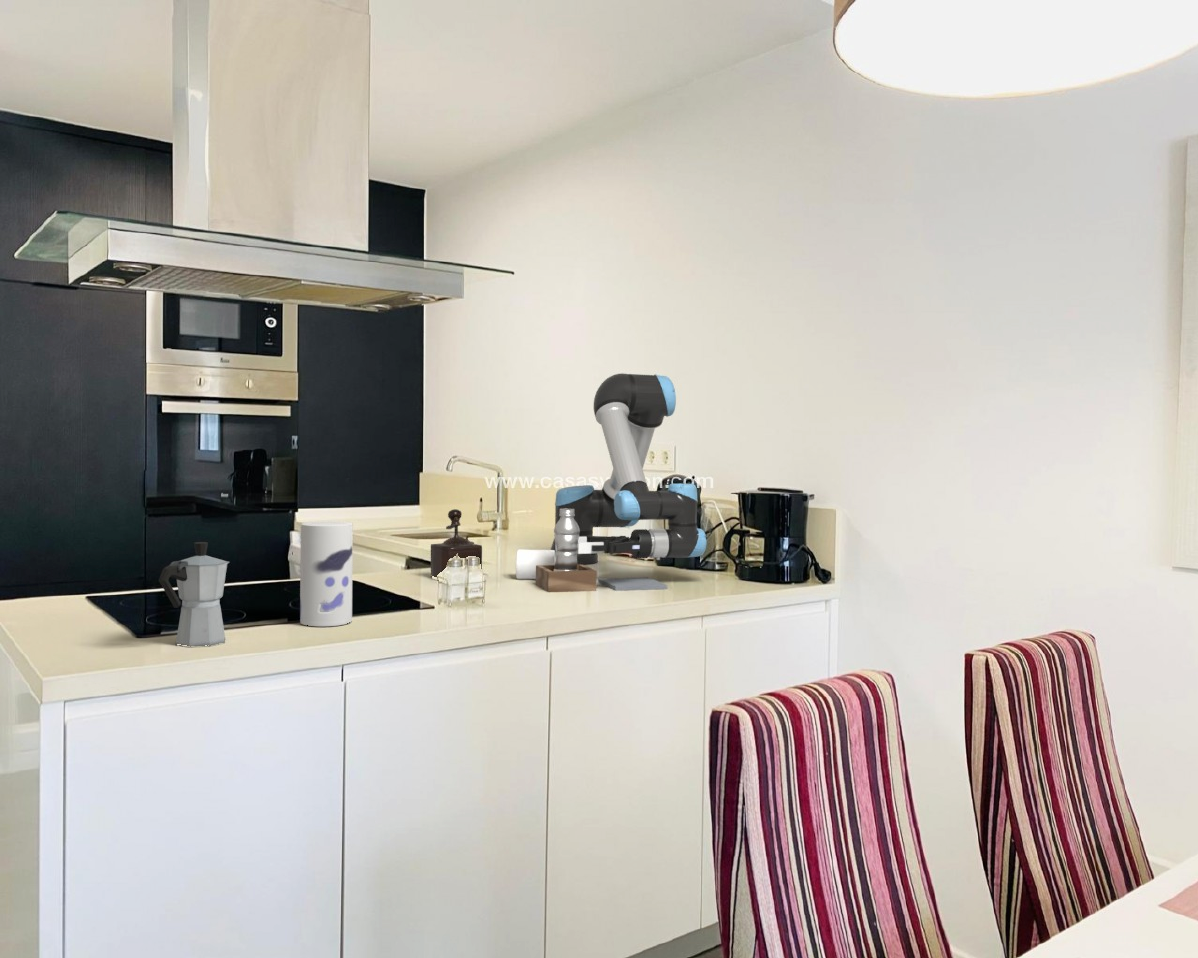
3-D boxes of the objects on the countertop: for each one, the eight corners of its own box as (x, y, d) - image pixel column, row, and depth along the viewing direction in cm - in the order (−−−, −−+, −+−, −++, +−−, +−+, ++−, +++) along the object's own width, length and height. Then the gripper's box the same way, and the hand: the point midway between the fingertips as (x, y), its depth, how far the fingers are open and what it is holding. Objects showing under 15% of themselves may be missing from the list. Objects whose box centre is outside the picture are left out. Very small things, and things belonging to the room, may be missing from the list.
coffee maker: (211, 633, 181) (211, 537, 180) (246, 638, 177) (246, 540, 177) (142, 648, 168) (142, 544, 167) (178, 653, 164) (178, 548, 163)
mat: (598, 582, 256) (598, 578, 256) (647, 580, 260) (647, 577, 260) (615, 590, 243) (615, 586, 243) (667, 588, 247) (667, 584, 247)
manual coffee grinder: (485, 580, 256) (486, 512, 255) (447, 583, 249) (448, 513, 249) (457, 573, 268) (458, 508, 268) (420, 575, 262) (421, 509, 261)
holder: (535, 584, 250) (536, 565, 250) (581, 583, 254) (582, 564, 253) (548, 592, 238) (548, 571, 238) (596, 590, 242) (596, 570, 242)
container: (324, 629, 187) (325, 526, 186) (289, 623, 192) (289, 522, 192) (362, 621, 196) (363, 522, 195) (327, 616, 201) (328, 519, 200)
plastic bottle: (548, 586, 247) (549, 508, 247) (573, 585, 250) (574, 507, 249) (557, 590, 242) (559, 510, 241) (582, 588, 244) (584, 509, 243)
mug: (553, 581, 256) (553, 551, 256) (515, 581, 256) (516, 551, 256) (556, 575, 268) (556, 546, 268) (520, 574, 268) (520, 546, 268)
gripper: (666, 564, 240) (584, 566, 233) (630, 552, 264) (556, 554, 257) (666, 533, 240) (585, 535, 233) (631, 525, 264) (556, 525, 257)
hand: (569, 545), depth 245 cm, fingers open, 13 cm apart
